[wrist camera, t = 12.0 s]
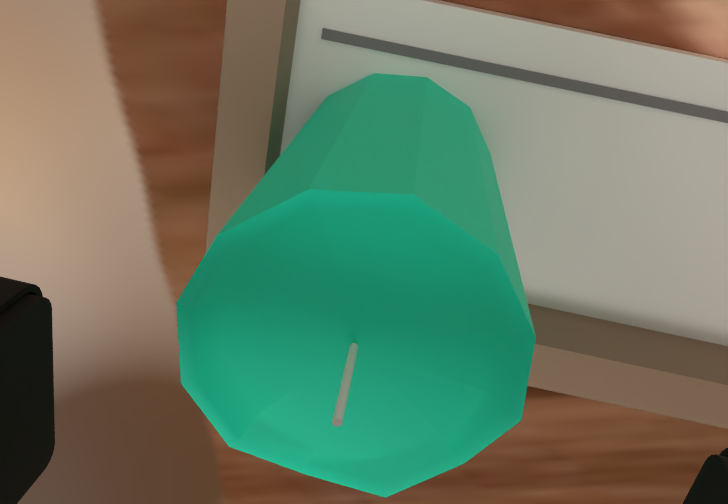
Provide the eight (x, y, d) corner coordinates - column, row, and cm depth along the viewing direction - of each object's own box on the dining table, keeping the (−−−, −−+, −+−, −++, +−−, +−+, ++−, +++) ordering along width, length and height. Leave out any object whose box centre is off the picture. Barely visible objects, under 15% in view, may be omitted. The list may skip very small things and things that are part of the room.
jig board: (861, 86, 19) (959, 118, 16) (720, 363, 23) (771, 438, 20) (264, -36, 20) (224, -34, 16) (232, 259, 24) (195, 313, 20)
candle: (258, 158, 21) (53, 389, 10) (404, 26, 18) (351, 131, 8) (383, 291, 22) (327, 619, 11) (531, 182, 20) (640, 457, 9)
